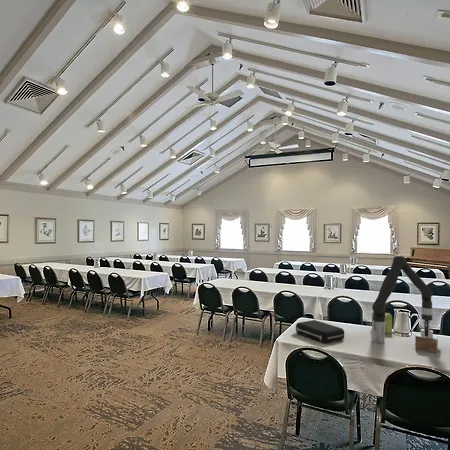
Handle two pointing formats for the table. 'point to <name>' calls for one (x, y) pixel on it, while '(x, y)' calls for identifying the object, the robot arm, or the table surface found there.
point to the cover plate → (430, 334)
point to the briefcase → (320, 331)
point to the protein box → (386, 322)
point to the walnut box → (426, 344)
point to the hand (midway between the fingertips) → (426, 335)
